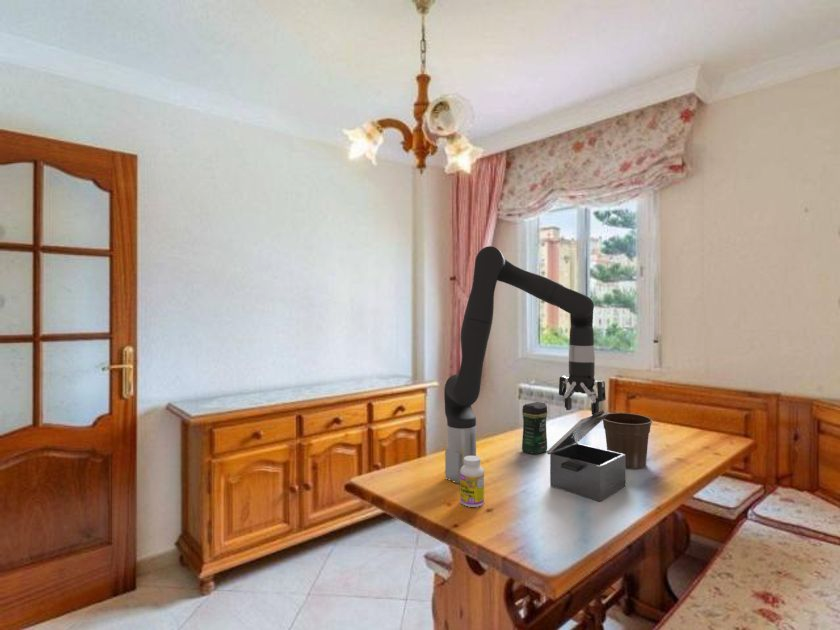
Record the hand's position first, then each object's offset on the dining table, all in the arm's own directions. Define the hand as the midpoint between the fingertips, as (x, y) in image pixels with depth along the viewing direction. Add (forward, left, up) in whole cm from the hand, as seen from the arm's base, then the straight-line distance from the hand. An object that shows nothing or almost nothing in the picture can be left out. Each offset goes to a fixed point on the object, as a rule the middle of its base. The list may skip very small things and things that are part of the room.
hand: (581, 412), depth 143 cm
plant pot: (+29, -1, -23) cm, 37 cm away
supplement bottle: (-35, +14, -23) cm, 44 cm away
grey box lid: (0, 0, -7) cm, 7 cm away
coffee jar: (+18, +29, -23) cm, 41 cm away
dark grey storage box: (0, -2, -22) cm, 23 cm away
